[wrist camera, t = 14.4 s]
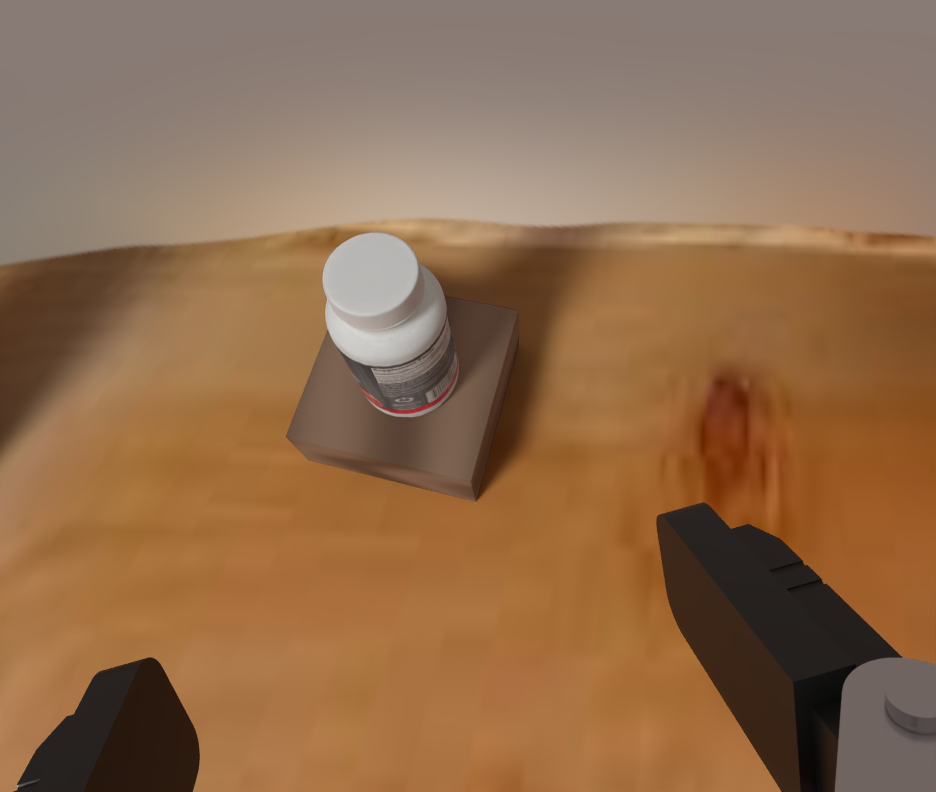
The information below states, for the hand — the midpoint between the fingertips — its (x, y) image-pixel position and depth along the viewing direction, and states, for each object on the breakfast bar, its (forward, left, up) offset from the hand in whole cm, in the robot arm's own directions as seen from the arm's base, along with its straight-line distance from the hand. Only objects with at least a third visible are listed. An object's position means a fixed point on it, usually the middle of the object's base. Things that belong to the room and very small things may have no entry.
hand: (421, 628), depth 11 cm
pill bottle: (-8, +13, -21) cm, 26 cm away
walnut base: (-8, +13, -25) cm, 29 cm away
